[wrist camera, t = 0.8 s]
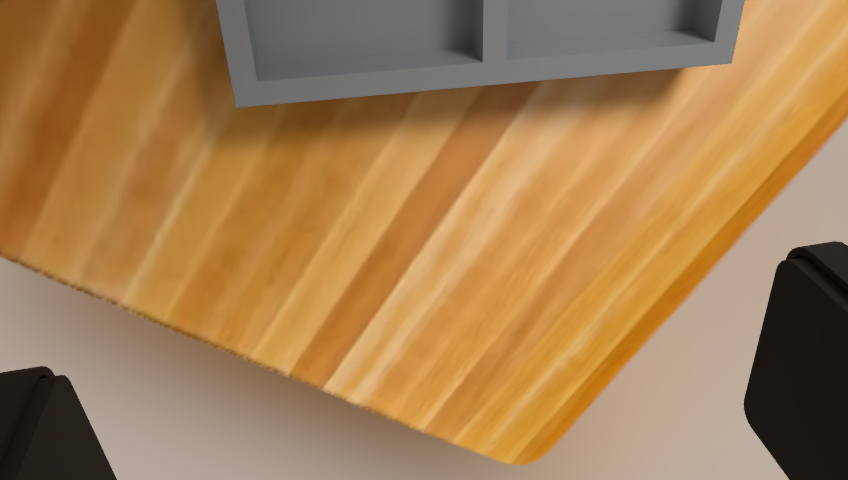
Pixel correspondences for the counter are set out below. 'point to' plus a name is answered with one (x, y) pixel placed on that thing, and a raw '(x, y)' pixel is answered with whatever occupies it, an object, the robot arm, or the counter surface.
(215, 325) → the counter surface
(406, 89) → the grey compartment tray
